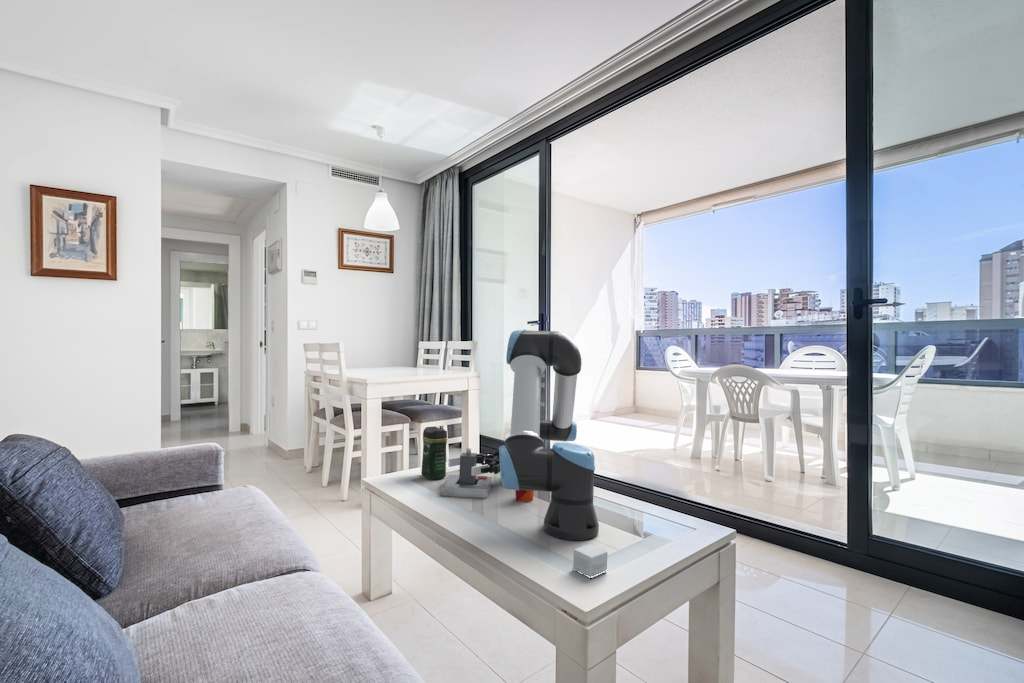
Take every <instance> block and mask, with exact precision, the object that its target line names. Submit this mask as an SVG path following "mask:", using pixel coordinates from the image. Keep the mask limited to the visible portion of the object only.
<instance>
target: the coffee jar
mask: <svg viewBox="0 0 1024 683" xmlns="http://www.w3.org/2000/svg"><path fill="white" fill-rule="evenodd" d="M447 442H448V431H447V430H445V429H443V428H440V427H437V426H426V427H425V428H424V429H423V432H422V443H423V444H422V461H421V476H422V477H423V478H426V479H428V480H436V481H437V480H441V479H444V478H445V477H446V475H447Z"/></svg>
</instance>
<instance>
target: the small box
mask: <svg viewBox="0 0 1024 683" xmlns="http://www.w3.org/2000/svg"><path fill="white" fill-rule="evenodd" d="M572 557H573V558H572V560H573V561H572V570H573V569H575V570H576V571H579V572H581V573H583V574H585V575H588V576H590V577H591V576H594V575H596V574H599V573H601V572H603V571H605V570H606V569H607V570H608V551H607V550H604V549H602V548H600V547H598V546H595V545H593V544H591V543H588V544H585V545H583V546H580V547H577V548H574V549H573V556H572ZM576 571H575V572H576Z"/></svg>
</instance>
